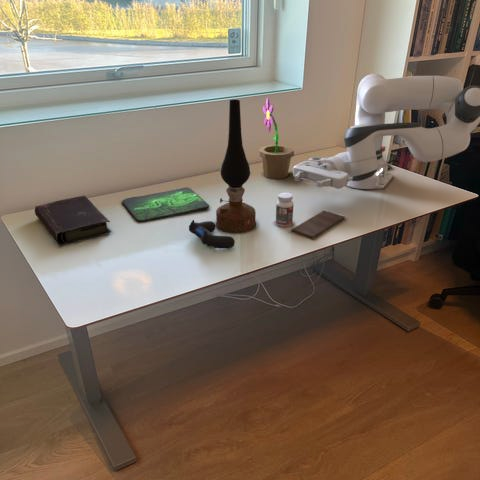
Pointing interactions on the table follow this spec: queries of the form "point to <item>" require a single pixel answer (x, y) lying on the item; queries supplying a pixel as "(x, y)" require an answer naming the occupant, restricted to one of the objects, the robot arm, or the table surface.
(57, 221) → the diary
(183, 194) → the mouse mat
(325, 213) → the walnut board
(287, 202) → the pill bottle
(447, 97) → the robot arm
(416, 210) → the table surface
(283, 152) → the flowerpot
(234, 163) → the oil lamp
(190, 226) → the gaming controller
